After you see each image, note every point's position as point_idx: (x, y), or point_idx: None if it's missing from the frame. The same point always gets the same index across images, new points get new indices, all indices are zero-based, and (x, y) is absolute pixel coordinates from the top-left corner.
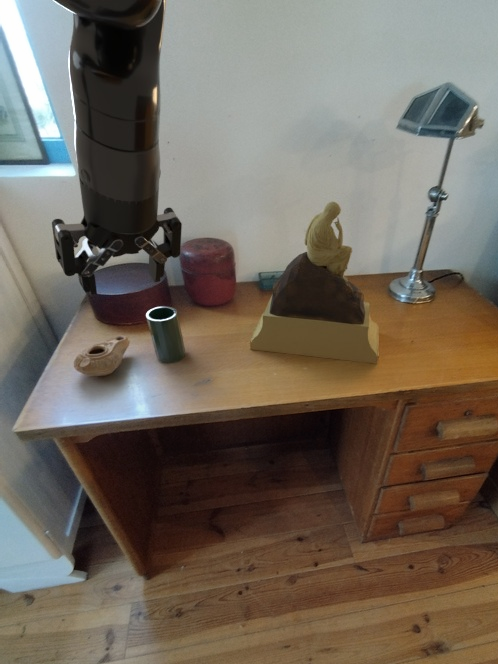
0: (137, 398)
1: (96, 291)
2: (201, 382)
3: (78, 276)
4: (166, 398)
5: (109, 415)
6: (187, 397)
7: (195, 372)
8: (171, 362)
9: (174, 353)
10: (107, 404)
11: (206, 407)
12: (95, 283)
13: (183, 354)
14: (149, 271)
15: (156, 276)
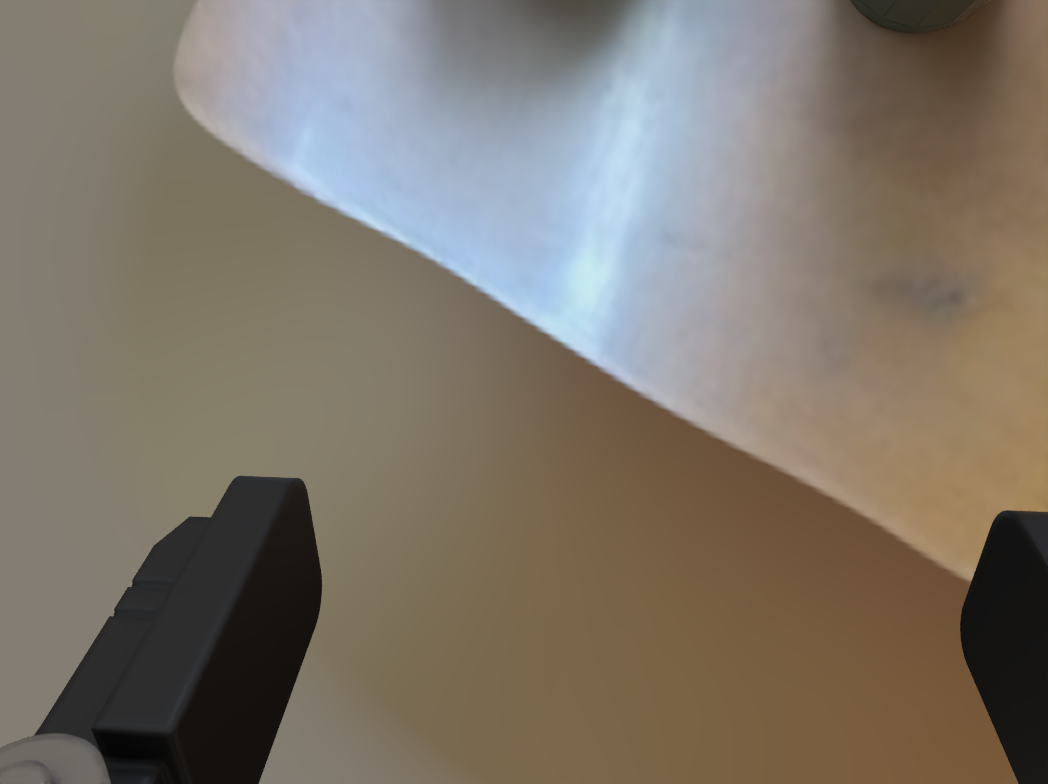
0: (602, 203)
1: (303, 654)
2: (914, 288)
3: (109, 628)
4: (710, 290)
5: (458, 237)
6: (793, 348)
7: (938, 190)
8: (882, 24)
9: (926, 14)
10: (478, 157)
11: (825, 470)
12: (264, 761)
13: (975, 10)
14: (1010, 543)
15: (1005, 729)
